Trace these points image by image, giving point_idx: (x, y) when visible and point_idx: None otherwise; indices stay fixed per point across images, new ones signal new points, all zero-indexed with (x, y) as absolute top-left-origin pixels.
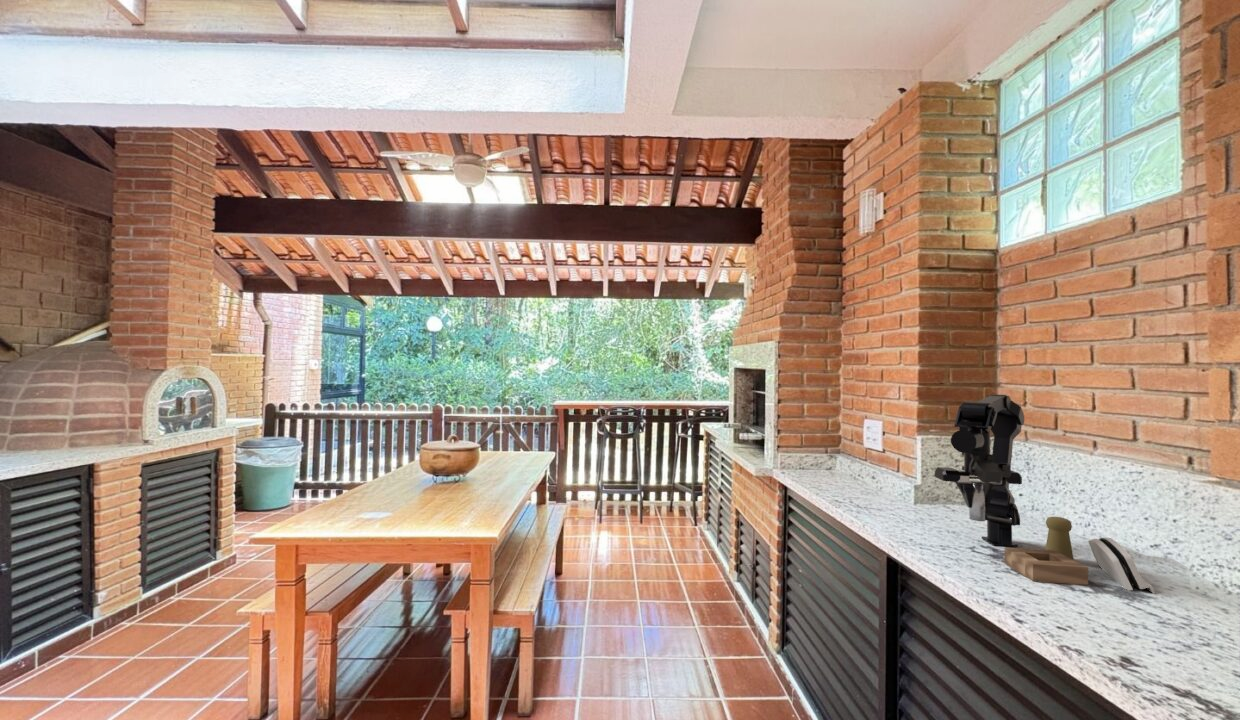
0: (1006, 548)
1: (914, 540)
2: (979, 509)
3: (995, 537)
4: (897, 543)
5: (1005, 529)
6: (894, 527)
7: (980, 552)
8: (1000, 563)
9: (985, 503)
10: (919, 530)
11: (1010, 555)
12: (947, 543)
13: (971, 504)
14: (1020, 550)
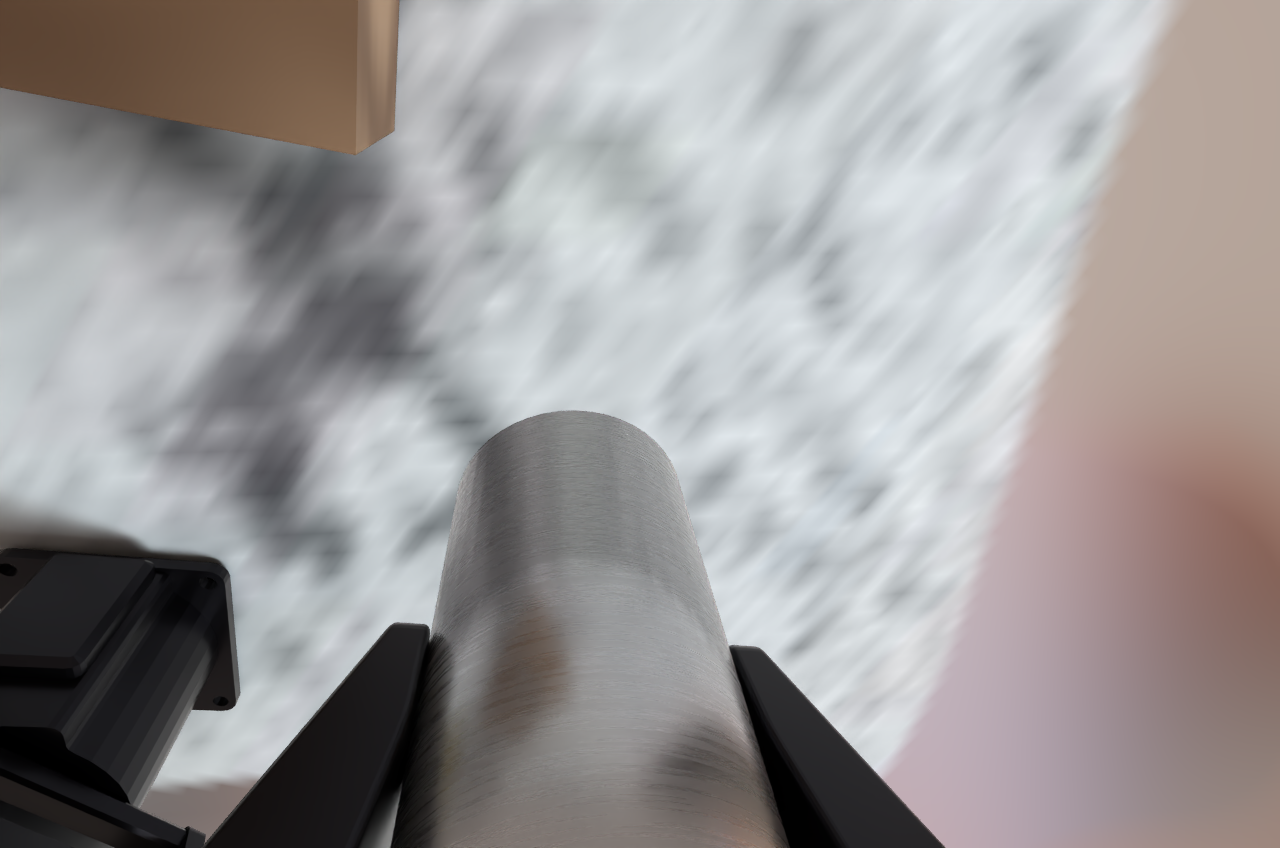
0: (349, 116)
1: (793, 628)
2: (631, 554)
3: (163, 634)
4: (964, 569)
5: (22, 672)
6: None
7: (447, 416)
8: (439, 131)
9: (408, 731)
10: None
11: (371, 4)
12: None
13: (757, 697)
14: (187, 22)
